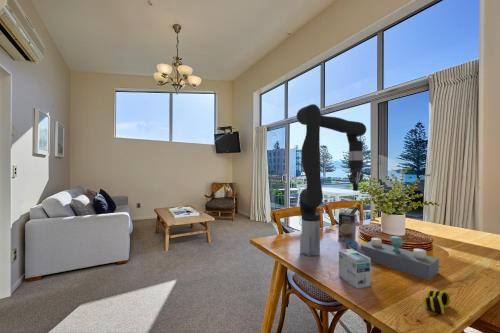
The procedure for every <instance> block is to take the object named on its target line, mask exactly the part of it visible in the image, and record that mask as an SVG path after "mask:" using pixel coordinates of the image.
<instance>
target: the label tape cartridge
mask: <svg viewBox="0 0 500 333" xmlns="http://www.w3.org/2000/svg"><path fill="white" fill-rule="evenodd" d="M345 249H353V250H355V251H357V252H359V253H361V254H363V255H365V253H364V252H363V251H361V250H360V249H359V248H358V243H356V241H355V242H353V241H351V240H349V239H348V238H346V242H345Z"/></svg>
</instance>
